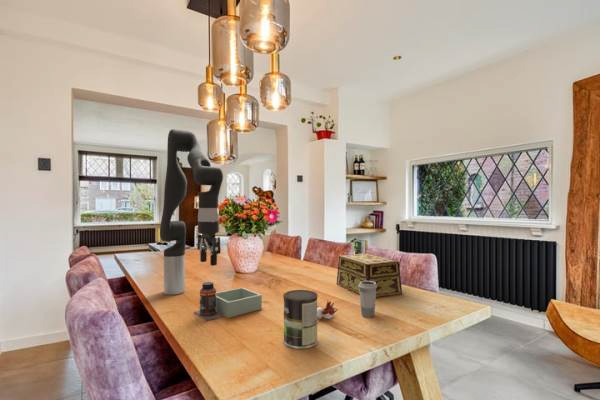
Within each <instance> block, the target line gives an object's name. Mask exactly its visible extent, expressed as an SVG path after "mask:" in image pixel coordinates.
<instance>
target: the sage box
mask: <svg viewBox="0 0 600 400" xmlns="http://www.w3.org/2000/svg"><path fill="white" fill-rule="evenodd" d="M262 296H263V295H262V294H261V293H258V292H255V291H253V290H250V289H248V288H245V287H239V288H238V287H237V288H233V289H228V290H222V291H218V292H216V312H218V313H220V314H222V315H224V317H226V318H228V319H229V318H232V317H237V316H240V315H244V314H248V313H252V312H256V311H259V310H262V309H263V307H262V306H263V305H262V304H263V303H262V302H263V301H262V299H263V298H262Z"/></svg>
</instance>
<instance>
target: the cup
mask: <svg viewBox="0 0 600 400" xmlns="http://www.w3.org/2000/svg"><path fill="white" fill-rule="evenodd" d="M358 287H359V288H360V290H359V292H360V295H359V303H360V305H359V306H360V310H361V311H360V312H361V314H360V315H361V316H362V317H364V318H373V317H375V312H376V311H375V310H376V304H377V302H376V300H377V298H376V288H377V285H376V282H373V281H361V282H360V284H359V285H358Z"/></svg>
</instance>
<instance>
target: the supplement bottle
mask: <svg viewBox="0 0 600 400" xmlns="http://www.w3.org/2000/svg"><path fill="white" fill-rule="evenodd" d="M201 286H202V288H201V289H200V290H199V311H200V314H201V315H204V316H209V315H213V314H215V313H216V312H217V311H216V293H217V289H216V288H215V287H214V286H215V285H214V282H213V281H206V282H203V283H202V285H201Z"/></svg>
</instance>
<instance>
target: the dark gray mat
mask: <svg viewBox="0 0 600 400" xmlns="http://www.w3.org/2000/svg"><path fill="white" fill-rule="evenodd" d="M193 314H195V315H196V316H197V317H199V318H201V319H202V320H204V321H206V322H208V321H212V320H216V319H221V318H224V317H225V316H224V315H222V314H220V313H218V312H217V311H216V313H215V314H213V315H209V316H204V315H201V314H200V310H197V311H193Z"/></svg>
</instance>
